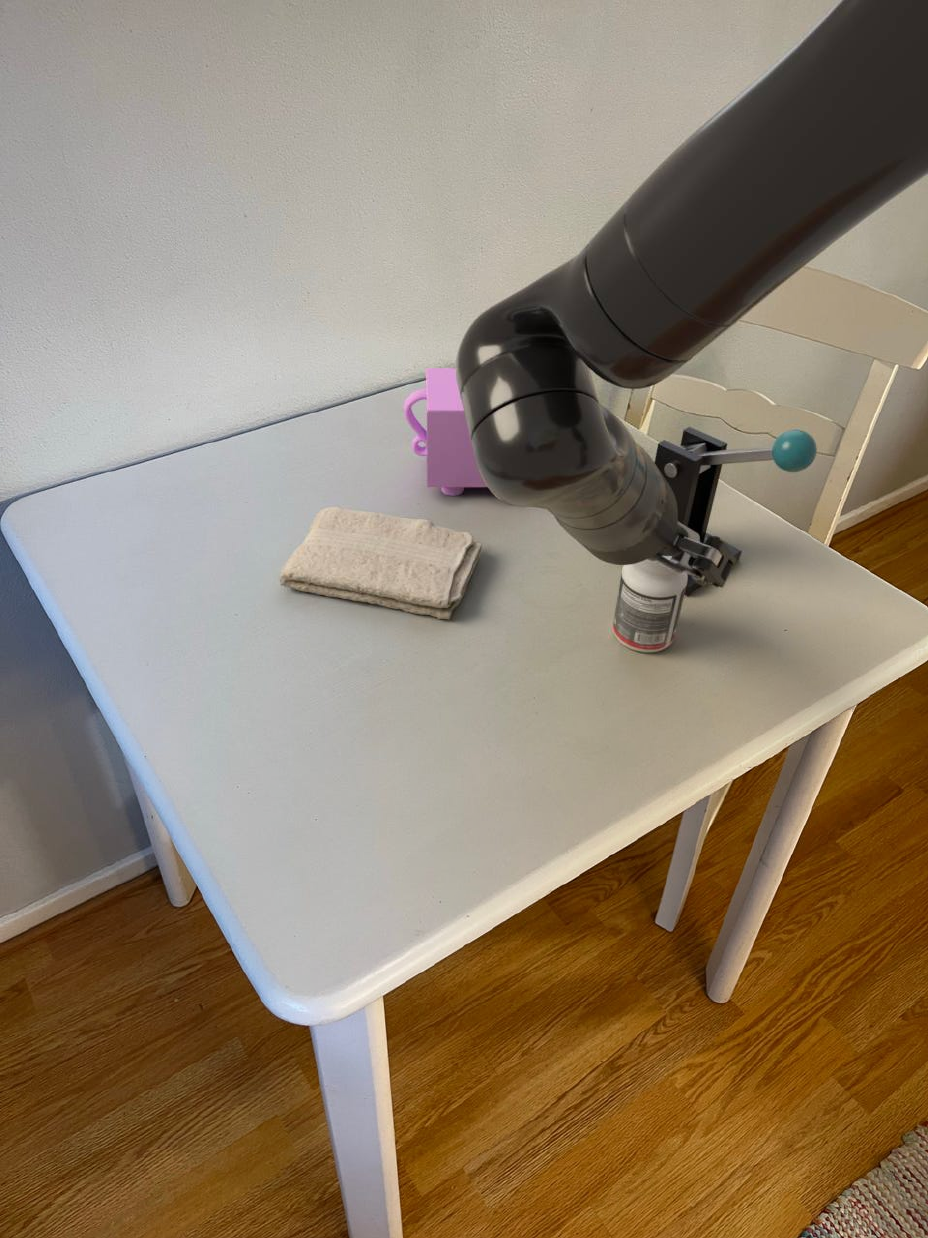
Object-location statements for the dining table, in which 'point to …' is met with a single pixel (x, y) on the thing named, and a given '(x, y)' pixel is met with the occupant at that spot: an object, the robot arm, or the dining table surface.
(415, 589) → the washcloth
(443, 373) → the teapot
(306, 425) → the dining table surface
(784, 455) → the lever with teal knob
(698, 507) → the bracket
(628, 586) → the pill bottle
